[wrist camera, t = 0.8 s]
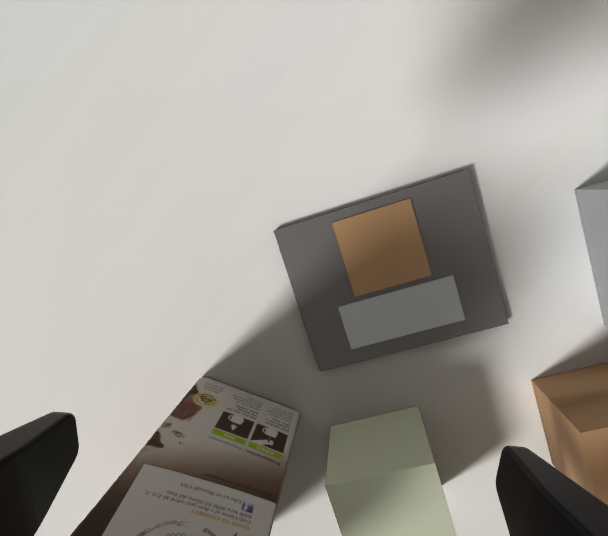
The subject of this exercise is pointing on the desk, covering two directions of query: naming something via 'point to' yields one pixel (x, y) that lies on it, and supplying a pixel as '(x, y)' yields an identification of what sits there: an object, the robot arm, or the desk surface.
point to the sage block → (386, 478)
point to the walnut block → (577, 424)
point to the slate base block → (596, 236)
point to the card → (393, 272)
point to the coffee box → (203, 470)
